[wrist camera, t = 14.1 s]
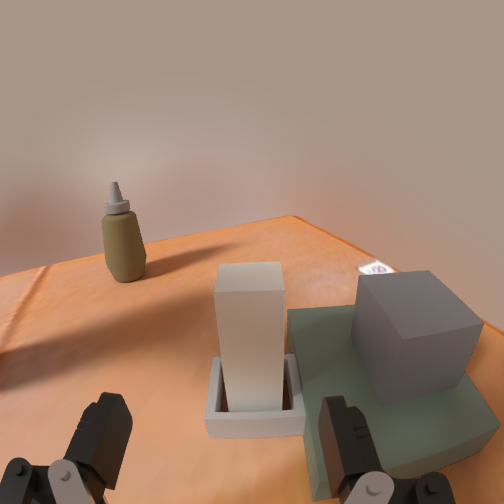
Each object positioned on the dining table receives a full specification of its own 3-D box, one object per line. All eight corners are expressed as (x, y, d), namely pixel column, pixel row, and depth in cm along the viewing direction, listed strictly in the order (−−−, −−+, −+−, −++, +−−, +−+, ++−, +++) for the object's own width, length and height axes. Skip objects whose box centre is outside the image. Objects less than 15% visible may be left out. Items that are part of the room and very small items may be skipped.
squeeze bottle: (128, 289, 50) (109, 186, 43) (101, 280, 53) (83, 187, 46) (158, 271, 56) (145, 177, 50) (130, 265, 60) (117, 179, 53)
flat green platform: (202, 503, 16) (166, 429, 12) (220, 338, 37) (212, 257, 33) (480, 450, 16) (540, 361, 12) (402, 324, 37) (417, 248, 33)
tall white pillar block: (230, 423, 24) (213, 292, 19) (233, 389, 29) (220, 263, 24) (281, 422, 24) (285, 289, 19) (278, 387, 29) (279, 261, 24)
